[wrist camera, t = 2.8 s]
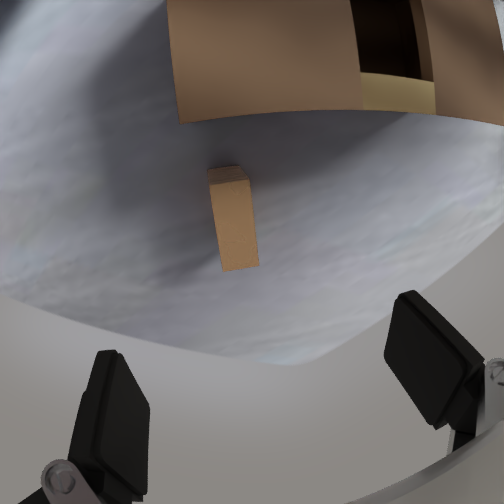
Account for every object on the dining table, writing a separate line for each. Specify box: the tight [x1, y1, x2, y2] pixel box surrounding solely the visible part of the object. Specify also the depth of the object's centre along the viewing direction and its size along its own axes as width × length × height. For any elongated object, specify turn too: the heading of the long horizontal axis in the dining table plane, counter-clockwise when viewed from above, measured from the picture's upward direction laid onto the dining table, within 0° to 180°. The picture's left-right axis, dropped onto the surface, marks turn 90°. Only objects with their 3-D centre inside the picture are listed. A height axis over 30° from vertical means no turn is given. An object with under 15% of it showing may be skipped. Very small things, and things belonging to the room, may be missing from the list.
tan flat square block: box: [207, 165, 259, 272], centre depth 22 cm, size 6×2×6 cm, turn 6°
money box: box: [166, 0, 504, 126], centre depth 14 cm, size 12×20×12 cm, turn 96°
